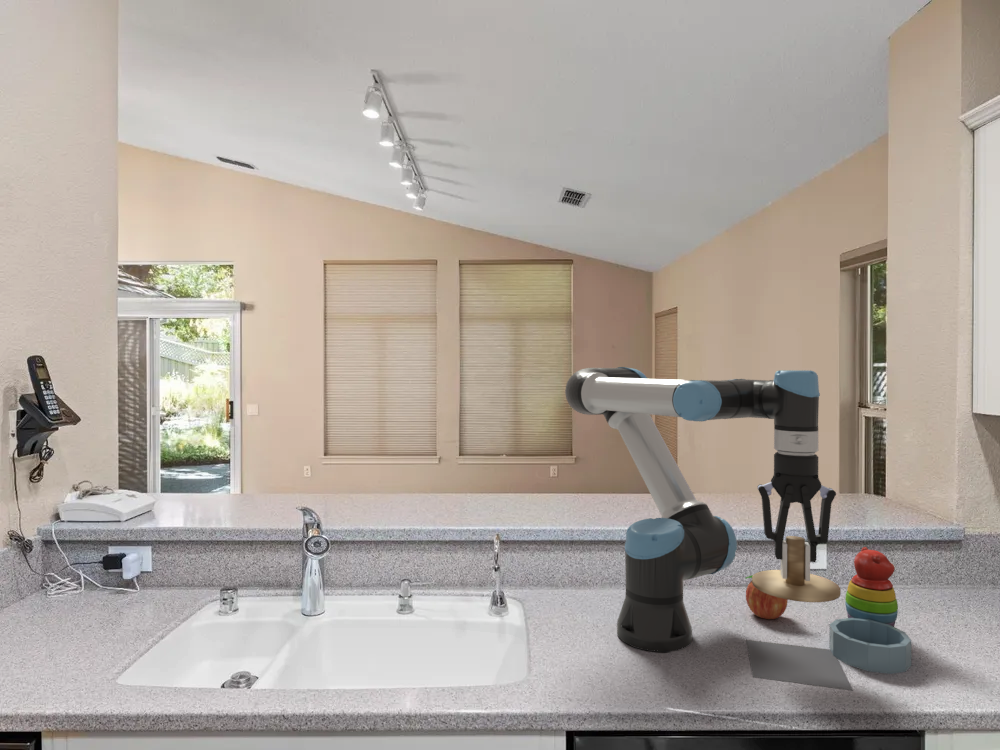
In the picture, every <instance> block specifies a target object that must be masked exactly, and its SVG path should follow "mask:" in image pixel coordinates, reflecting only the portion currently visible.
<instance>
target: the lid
mask: <svg viewBox="0 0 1000 750" xmlns="http://www.w3.org/2000/svg"><path fill="white" fill-rule="evenodd" d="M785 541H786V543H787V579H783V578H782V576H781V569H768V570H762V571H758V572H756V573H754V574H753V576H752V578H751V581H752V584H753V586H754V587H755V588H757V589H758V590H760V591H762V592H764V593H766V594H769V595H772V596H775V597H779V598H783V599H787V600H788V601H793V602H802V603H828V602H832V601H834V600H835V601H836V600H838V599H839V598H840V596H842V595H841V594H842V593H841V590H842V589H841V586H840V585H839V584H837V583H836V582H834V581H833V580H831V579H828V578H826V577H823V576H821V575H820V576H819V575H816V574H813V573H810V581H805V542H806V539H805V538H804V537H803V536H797V535H796V536H795V535H788V536H785Z"/></svg>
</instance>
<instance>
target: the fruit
mask: <svg viewBox="0 0 1000 750" xmlns="http://www.w3.org/2000/svg"><path fill="white" fill-rule="evenodd" d="M753 575H754V574H753ZM753 575H748V576H746V577H745V579H752V576H753ZM745 601H746V604H747V605H748V608H749V610H750V611H751V612H752V614H754V615H755V616H756V617H758V618H760V619H765V620H775V619H778V618H780V617H781V616H782V615H784V613H785V611H786V609H787V607H788V601H789V600H787V599H783V598H779V597H775V596H772V595H769V594H766V593H764V592H762V591H760V590H758V589H757V588H755V587H754V586H753V584H752V580H751V581H750V582H749V583H748V585H747V587H746V590H745Z"/></svg>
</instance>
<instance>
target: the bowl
mask: <svg viewBox="0 0 1000 750" xmlns="http://www.w3.org/2000/svg"><path fill="white" fill-rule="evenodd" d="M828 649H830V650H831V652H832V654H833V656H835V657H836V658H837V659H838V661H839V660H840V661H841V662H842V663H845V665H848V666H850V667H854V668H857V669H861V670H863V671H867V672H871V673H881V674H887V675H888V674H889V675H891V674H898V673H906V672H907V671H908V670H909V668H911V666H912V639H911V638H910V637H909V635H908V634H907V633H906V632H905V631H903V630H901V629H899V628H897V627H895V626H894V627H893V626H891V625H888V624H884V623H881V622H877V621H873V620H868V619H858V618H848V617H847V618H846V617H845V618H836V619H835V620H833V621H832V622H830V624H829V648H828Z"/></svg>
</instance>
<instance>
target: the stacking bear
mask: <svg viewBox="0 0 1000 750" xmlns="http://www.w3.org/2000/svg"><path fill="white" fill-rule="evenodd" d="M853 564H854V569H855V572H856V574H855V575H854V576H853V577H852V578H851V580H849V582H848V585H847V589H846V592H845V610H846V613H847V614H846V615H847V618H858V619H868V620H873V621H877V622H881V623H884V624H888V625H891V626H893V627H895V625H896V620H897V618H898V613H899V611H898V610H899V606H898V599H897V596H896V595H897V594H896V592H895V588H894V584H893V583H892V582H891V580H890V579H891V577H892V576H893V574H894V573H895V569H896V567H895V565H894V564H893V563H892V562H891V561H890V560H889V559H888V557H887V556H886V555H885V554H884V553H882V552H880V551H878V550H876V549H869V548H867V546H864V547H862V548H861V550H860V551H858V553H857V554H856V555H855V557H854V559H853Z"/></svg>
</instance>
